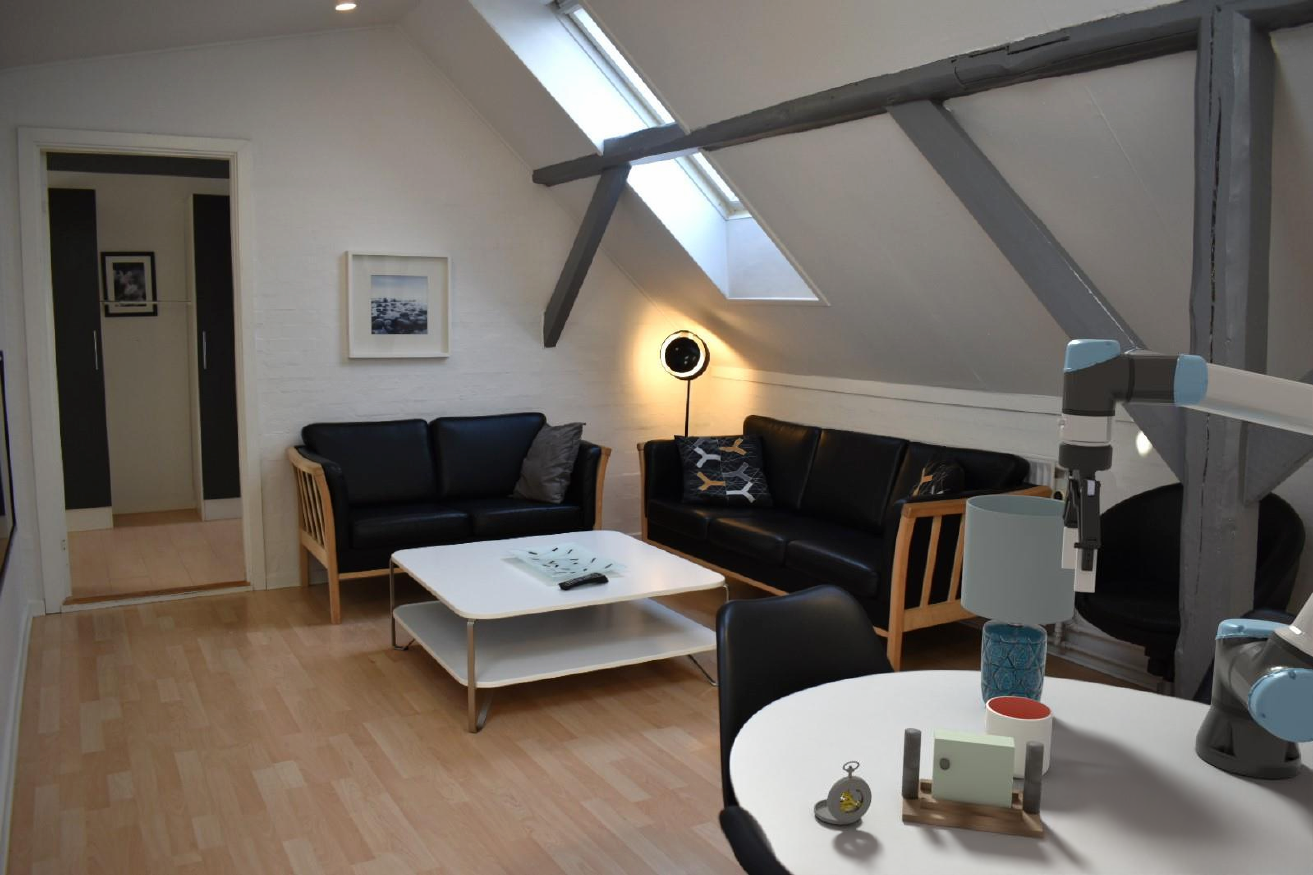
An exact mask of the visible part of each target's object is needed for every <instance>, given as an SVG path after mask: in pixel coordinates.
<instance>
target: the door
mask: <svg viewBox="0 0 1313 875" xmlns="http://www.w3.org/2000/svg"><path fill="white" fill-rule="evenodd" d="M933 740H934V741H933V755H932V756H933V757H932V774H931V775H932V777H931V780H932V793H931V795H932V798H933V799H941V800H949V801H957V802H966V803H974V804H982V805H991V806H999V807H1007V808H1011V802H1012V789H1013V784H1014V783H1013V782H1014V777H1013V770H1014V754H1015V745H1014V740H1013V737H1004V736H995V735H986V734H984V733H975V732H967V731H956V730H949V729H948V730H947V729H938V728H934V739H933Z"/></svg>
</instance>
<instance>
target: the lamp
mask: <svg viewBox="0 0 1313 875" xmlns="http://www.w3.org/2000/svg"><path fill="white" fill-rule="evenodd" d="M965 501H966V503H965V504H966V506H965V519H964V520H965V521H964V538H963V539H964V540H963V541H964V542H963V543H964V544H963V556H962V557H963V559H962V560H963V561H962V578H961V579H962V580H961V592H960V594H961V596H960V597H961V598H960V605H961V606H962V608H963V609H965V610H966V611H968V612H970V613H971V614H974V615H976V616H979V617H982V618H986V619H989V620H988V621H987V622H985V623H984V625H983V627H982V640H981V658H980V660H981V662H980V689H981V690H980V692H981V698H982V700H983V702H984V705H986V703H987V702H988V701H989V700H990V699H992V698H996V697H1002V696H1014V697H1023V698H1028V699H1032V700H1035V701H1038V702H1041V701H1042V695H1043V690H1044V689H1043V688H1044V682H1045V681H1044V680H1045V672H1046V661H1047V646H1048V632H1047V630H1046V629H1045V628H1044V627H1043V626H1041V625H1052V624H1059V623H1064V622H1066V621H1069V620H1071V619H1073V617H1074V614H1075V613H1074V610H1075V599H1076V597H1075V596H1076V591H1074V582H1075V569H1066V568H1062V552H1063V536H1064V527H1067V526H1064V520H1063V518H1062V515H1063V511H1064V504H1065V500H1060V499H1053V498H1049V497H1048V498H1047V497H1041V496H1034V495H1033V496H1031V495H1021V494H986V495H977V496H972V497H970V498H968V499H967V500H965Z"/></svg>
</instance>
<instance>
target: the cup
mask: <svg viewBox="0 0 1313 875" xmlns="http://www.w3.org/2000/svg"><path fill="white" fill-rule="evenodd" d="M1053 716H1054V713H1053V710H1052V708H1051V707H1049V706H1048V705H1046V704H1045V703H1043V702H1041V701H1040V702H1038V701H1035V700H1032V699H1028V698H1023V697H1014V696H1002V697H996V698H992V699H990V700H989V701H988V702H987V703H986V704H985V717H984V720H985V721H984V733H983V734H986V735H995V736H1004V737H1013V740H1014V745H1015V754H1014V770H1013V779H1014V778H1015V779H1023V780H1024V771H1025V756H1026V743H1027V742H1028V741H1037V742H1040V743H1042V744H1043V745H1044V754H1043V769H1042V776H1043V775H1044V774H1046V773H1047V771H1048V770H1049V768H1050V760H1051V744H1052V730H1053Z"/></svg>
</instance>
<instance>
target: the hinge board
mask: <svg viewBox="0 0 1313 875" xmlns="http://www.w3.org/2000/svg"><path fill="white" fill-rule="evenodd" d="M903 736H904V738H903V739H904V740H903V756H902V757H903V758H902V776H901V777H902V780H901V782H902V783H901V796H902V807H901V809H902V815H901V816H902V817H901V821H902V822H909V823H910V822H911V823H917V824H918V823H919V824H928V825H934V826H942V827H951V828H958V829H965V830H974V831H975V830H976V831H982V832H991V833H998V834H1006V835H1012V836H1013V835H1015V836H1022V837H1031V838H1037V839H1043V836H1044V834H1043V833H1044V831H1043V826H1042V822H1041V817H1040V811H1041V798H1042V797H1041V796H1042V795H1041V794H1042V783H1043V782H1042V780H1043V775H1042V769H1043V754H1044V745H1043V744H1042V743H1040V742H1037V741H1028V742H1027V743H1026V756H1025V771H1024V779H1023V788H1022V790H1023V791H1022V790H1018V789H1013V788H1012V802H1011V808H1007V807H999V806H991V805H982V804H974V803H966V802H957V801H949V800H941V799H933V798H932V795H931V793H932V779H928V778H920V767H921V766H920V765H921V751H922V750H921V746H922V730H920V729H918V728H913V727H910V728H905V729H904V735H903Z"/></svg>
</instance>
